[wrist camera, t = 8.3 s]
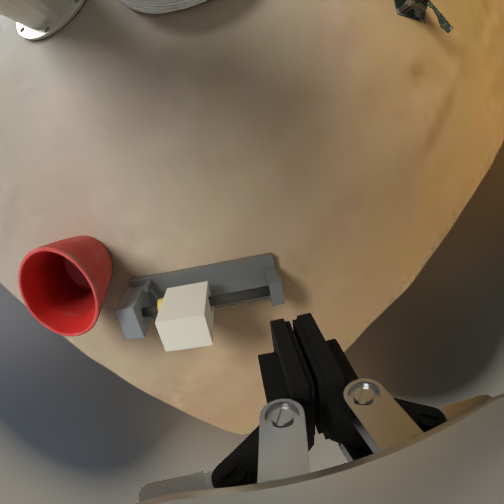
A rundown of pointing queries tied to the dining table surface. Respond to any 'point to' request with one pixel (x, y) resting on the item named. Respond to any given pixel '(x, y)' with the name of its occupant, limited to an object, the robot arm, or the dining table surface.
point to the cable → (160, 5)
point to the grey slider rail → (218, 276)
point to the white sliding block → (186, 317)
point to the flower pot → (66, 283)
